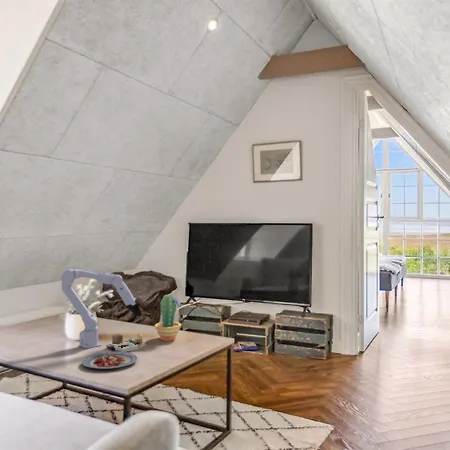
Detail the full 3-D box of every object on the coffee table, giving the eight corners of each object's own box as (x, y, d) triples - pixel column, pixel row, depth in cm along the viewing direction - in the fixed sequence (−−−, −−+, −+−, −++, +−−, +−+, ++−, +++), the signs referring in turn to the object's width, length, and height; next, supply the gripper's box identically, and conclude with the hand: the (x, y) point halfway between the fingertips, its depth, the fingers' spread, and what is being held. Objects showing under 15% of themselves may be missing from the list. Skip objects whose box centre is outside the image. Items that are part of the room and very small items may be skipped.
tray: (122, 353, 244) (122, 348, 244) (113, 349, 251) (113, 345, 250) (138, 349, 250) (138, 345, 250) (128, 346, 257) (128, 342, 257)
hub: (130, 346, 257) (130, 343, 257) (125, 344, 261) (125, 342, 261) (137, 344, 261) (137, 342, 261) (132, 342, 265) (132, 340, 265)
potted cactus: (168, 343, 263) (168, 298, 262) (148, 339, 272) (148, 295, 271) (187, 337, 275) (186, 294, 274) (167, 333, 284) (167, 292, 284)
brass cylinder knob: (127, 342, 260) (127, 334, 260) (130, 340, 263) (130, 333, 263) (140, 343, 258) (140, 335, 258) (143, 341, 261) (142, 334, 261)
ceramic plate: (72, 363, 227) (72, 357, 227) (119, 352, 245) (118, 347, 245) (99, 376, 209) (99, 369, 209) (148, 363, 227) (148, 357, 227)
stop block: (116, 347, 254) (116, 336, 254) (112, 346, 257) (112, 335, 257) (122, 346, 257) (122, 335, 257) (118, 344, 260) (118, 334, 260)
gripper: (134, 290, 256) (147, 311, 258) (129, 290, 270) (142, 310, 271) (123, 298, 254) (136, 319, 255) (118, 297, 267) (131, 317, 268)
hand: (138, 315), depth 263 cm, fingers open, 7 cm apart
